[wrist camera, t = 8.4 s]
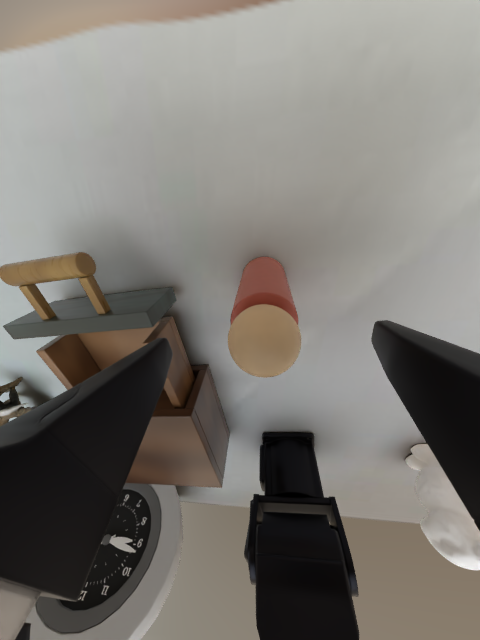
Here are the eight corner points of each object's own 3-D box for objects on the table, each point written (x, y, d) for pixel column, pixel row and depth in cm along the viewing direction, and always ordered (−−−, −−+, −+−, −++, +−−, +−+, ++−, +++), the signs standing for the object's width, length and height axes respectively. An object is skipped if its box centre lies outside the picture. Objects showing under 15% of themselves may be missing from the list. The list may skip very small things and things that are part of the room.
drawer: (25, 256, 16) (-46, 273, 13) (155, 235, 15) (118, 247, 11) (113, 389, 24) (85, 424, 20) (206, 386, 22) (194, 424, 18)
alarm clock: (193, 482, 37) (133, 727, 20) (194, 498, 40) (144, 716, 23) (79, 463, 37) (-75, 684, 20) (90, 481, 41) (-31, 680, 24)
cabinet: (104, 369, 24) (59, 417, 18) (208, 364, 22) (191, 416, 16) (145, 433, 30) (120, 483, 25) (229, 433, 28) (222, 487, 23)
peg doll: (284, 253, 15) (311, 323, 7) (285, 295, 17) (309, 394, 8) (239, 259, 16) (210, 331, 7) (245, 299, 17) (228, 396, 9)
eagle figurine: (-32, 378, 25) (-4, 433, 28) (-80, 420, 19) (-39, 484, 22) (49, 364, 29) (65, 414, 32) (29, 396, 23) (52, 454, 26)
